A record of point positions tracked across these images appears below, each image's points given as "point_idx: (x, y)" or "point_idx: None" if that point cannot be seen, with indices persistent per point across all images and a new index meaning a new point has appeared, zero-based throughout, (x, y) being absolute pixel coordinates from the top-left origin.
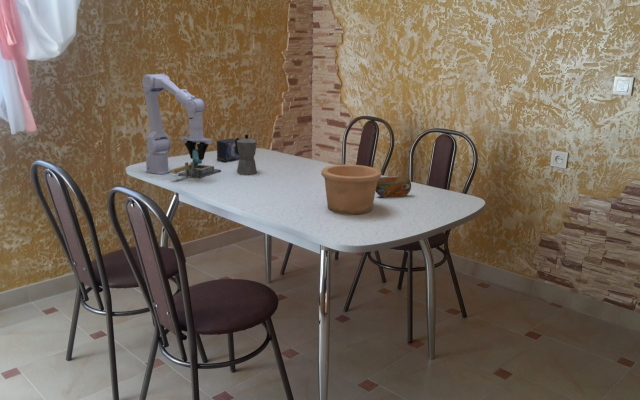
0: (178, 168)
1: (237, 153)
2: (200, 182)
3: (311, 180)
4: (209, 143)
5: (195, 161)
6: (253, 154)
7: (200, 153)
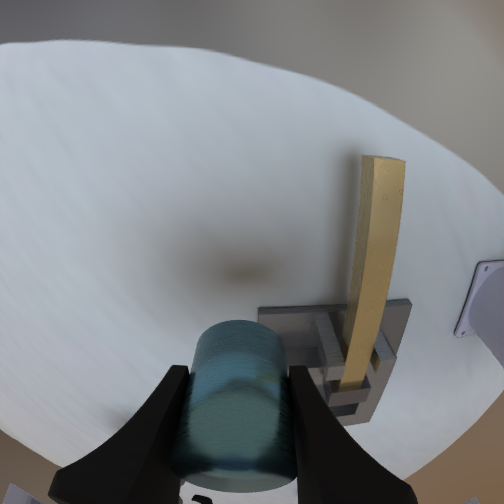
0: (375, 229)
1: (209, 502)
2: (190, 235)
3: (5, 394)
4: (9, 490)
5: (222, 336)
6: None
7: (138, 414)
